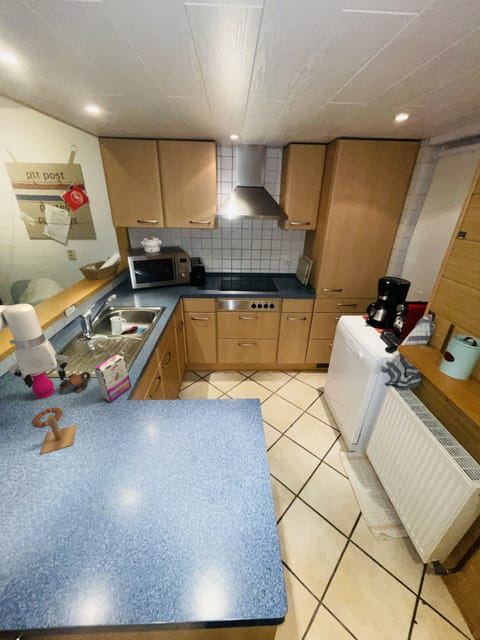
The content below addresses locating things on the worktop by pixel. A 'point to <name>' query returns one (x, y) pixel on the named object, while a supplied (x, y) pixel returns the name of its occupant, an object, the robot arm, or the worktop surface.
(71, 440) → the post
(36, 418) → the ring
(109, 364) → the candy bar box
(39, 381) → the pepper mill
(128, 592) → the worktop surface
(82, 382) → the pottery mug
